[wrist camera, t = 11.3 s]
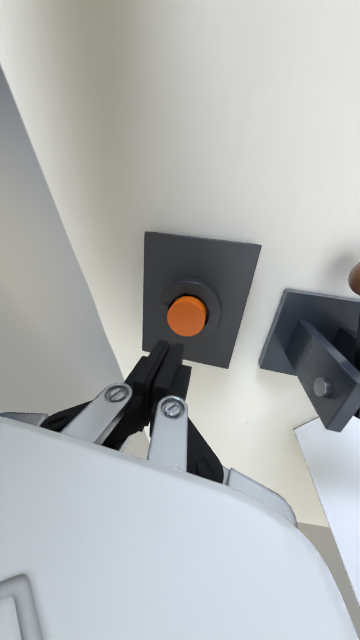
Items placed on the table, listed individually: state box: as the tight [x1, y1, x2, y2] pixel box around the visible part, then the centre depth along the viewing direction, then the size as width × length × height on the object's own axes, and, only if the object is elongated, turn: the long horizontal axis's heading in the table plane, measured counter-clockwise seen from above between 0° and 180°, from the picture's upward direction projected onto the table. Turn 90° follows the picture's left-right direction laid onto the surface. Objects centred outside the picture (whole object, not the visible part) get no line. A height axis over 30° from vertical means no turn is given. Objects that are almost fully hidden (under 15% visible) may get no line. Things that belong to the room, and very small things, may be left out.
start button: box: [167, 296, 206, 336], centre depth 18 cm, size 4×4×2 cm
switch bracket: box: [259, 289, 360, 433], centre depth 17 cm, size 10×9×11 cm
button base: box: [142, 232, 262, 369], centre depth 21 cm, size 14×11×4 cm
